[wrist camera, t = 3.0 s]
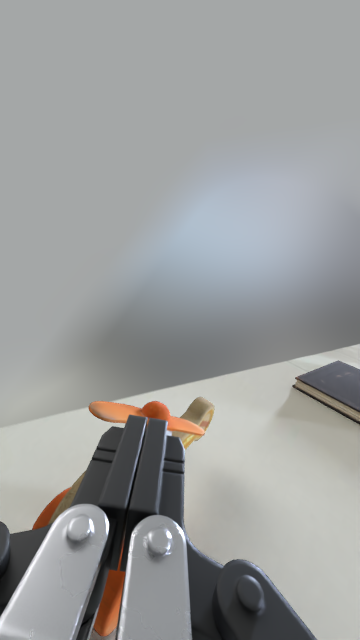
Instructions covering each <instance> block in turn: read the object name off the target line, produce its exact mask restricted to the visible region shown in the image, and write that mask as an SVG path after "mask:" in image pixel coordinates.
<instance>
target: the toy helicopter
mask: <svg viewBox="0 0 360 640" xmlns="http://www.w3.org/2000/svg"><path fill="white" fill-rule="evenodd" d="M89 411H90V412H91V413H92V414H93V415H94V416H95V417H97V418H99V419H101V420H104V421H107V422H113V423H126V422H127V419H128V416H129V414H130V415H136V416H142V417H148V421H147V426H148V422H149V418H155V419H161V420H167V421H168V425H167V433H166V435H169V436H175V437H180V439H181V442H182V444H183V446H184V448H185V450H186V449H187V448H188V447H189V445H190V444H191V443H192V442H193V441H197V440H199V439H200V438H201V437H202V436H203V435H204V434H205V431H206V430H207V428H208V426H209V424H210V422H211V420H212V417H213V414H214V405H213V404H212V403H211V402H209V401H208V400H206V399H204V398H203V397H198V398H196V399H195V400H194V401H193V402H192V404H191V405H190V406H189V408H188V409H187V411H186V412H185V413H184V414H183V415H182V416H181V417H180V418H177V417H173V416H170V412H169V410H168V408H167V407H166V406H165V405H164V404H162V403H160V402H157V401H152V402H149V403H147V404H146V405H145V406H144V407H143V408H142V409H141V408H137V407H134V406H130V405H125V404H119V403H112V402H104V401H95V402H92V403H91V404H90V405H89ZM146 431H147V428H146ZM145 435H146V434H145ZM85 472H86V471H85ZM85 472H84V473H83V474H82V475H81V476H80V477H79V479H78V480H77V481H76V482H75V483H74V484H73V485H72V487H70V488H68V489H66V490H64V491H63V492H61V493H60V494H59V495H57V496H56V497H55V498H54V499H53V500H52V501H51V502H50V503H49V504H48V505H47V506H46V508H45V509H44V510H43V511H42V513H41V514H40V516H39V517H38V519H37V520H36V522H35V524H34V526H33V529H32V530H34V529H38V528H42V527H44V526H47V525H49V524H51V523H53V522H54V521H55V520H56V519H57V518H58V516H59V515H60V514H62V513H63V512H64V511H65V510H67V509H68V508H69V507H70V505H71V503H72V501H73V499H74V497H75V495H76V492H77V490H78V488H79V486H80V484H81V481H82V479H83V477H84V475H85ZM124 538H125V537H124ZM123 545H124V542H123ZM122 552H123V547H122V551H121V556H120V560H119V565H118V569H117V571H115V570H109V573H108V577H107V581H106V585H105V589H104V593H103V597H102V600H101V602H100V605H99V609H98V613H97V616H96V619H95V623H94V626H93V627H94V629H95V630H96V631H97V633H98V634H99V635H100V636H107V635H109V634H110V633H111V632H112V631H113V630H114V629H115V628H116V627H117V623H118V615H119V609H120V602H121V596H122V590H123V583H124V577H125V572H123V571H120V565H121V558H122Z"/></svg>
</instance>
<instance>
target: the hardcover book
mask: <svg viewBox="0 0 360 640" xmlns="http://www.w3.org/2000/svg"><path fill="white" fill-rule="evenodd" d="M295 379H297V382H296V384H295V385H293V387H294V388H296V389H298V390H300V391H301V392H303V393H305V394H307V395H308V396H310V397H312V398H314V399H316V400H317V401H319V402H321V403H323V404H325V405H326V406H328V407H330V408H332V409H333V410H335V411H337V412H339V413H341V414H342V415H344V416H346V417H348V418H350V419H351V420H353V421H355V422H357V423H358V424H360V369H357V368H355V367H353V366H350V365H348V364H346V363H343V362H341V361H336V362H333V363H331V364H328V365H326V366H323V367H321V368H318V369H316V370H313V371H311V372H308V373H306V374H303V375H300V376H298V377H295Z"/></svg>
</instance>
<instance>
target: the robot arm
mask: <svg viewBox="0 0 360 640" xmlns="http://www.w3.org/2000/svg"><path fill="white" fill-rule="evenodd" d="M147 421H148V417H142V416H136V415H130V414H129V416H128V419H127V422H126V425H125V427H124V428H119V427H113V426H112V427H111V428H110V429H109V430H108V431H107V432H105V433H104V434H103V435H102V437H101V439H100V441H99V444H98V446H97V449H96V450H95V452H94V455H93V457H92V460H91V461H90V464H89V466H88V468H87V470H86V472H85V475H84V477H83V479H82V481H81V484H80V486H79V488H78V490H77V492H76V495H75V497H74V499H73V501H72V503H71V505H70V507H69V508H68V509H67V510H65V511H64V512H63V513H62V514H60V515H59V516H58V518H57V519H56V520H55V521H54V522H53V523H51V524H49V525H47V526H44V527H42V528H38V529H34V530H29V531H24V532H19V533H13V534H10V533H9V530H8V528H7V526H6V525H5V524H4V523H2V522H0V640H89V639H90V636H91V633H92V629H93V626H94V623H95V619H96V616H97V613H98V609H99V605H100V602H101V600H102V597H103V593H104V589H105V585H106V581H107V577H108V573H109V570H115V571H117V569H118V565H119V560H120V556H121V551H122V547H123V552H122V558H121V565H120V571H123V572H125V577H124V583H123V590H122V596H121V602H120V609H119V615H118V623H117V630H116V638H115V640H317V639H316V638H315V636H314V635H313V634H312V633H311V631H310V630H309V629H308V627H307V626H306V625H305V624H304V622H303V621H302V620H301V619H300V617H299V616H298V615H297V613H296V612H295V611H294V610H293V608H292V607H291V606H290V605H289V603H288V602H287V601H286V599H285V598H284V597H283V596H282V594H281V593H280V592H279V590H278V589H277V588H276V587H275V585H274V584H273V583H272V582H271V580H270V579H269V578H268V576H267V575H266V574H265V573H264V572H263V571H262V570H261V569H260V568H259V567H257V566H256V565H254V564H253V563H251V562H249V561H246V560H240V559H237V560H232V561H230V562H228V563H227V564H225V566H223V565H221V564H219V563H218V562H216V561H214V560H212V559H211V558H209V557H207V556H205V555H204V554H202V553H201V552H200V551H199V550H198V549H196V547H195V546H194V545H193V544H192V543H191V541H190V540H189V538H188V536H187V534H186V531H185V527H184V519H183V517H184V465H185V464H184V462H185V448H184V446H183V444H182V442H181V439H180V437H175V436H169V435H166V433H167V425H168V421H167V420H161V419H155V418H149V422H148V426H147ZM146 428H147V431H146ZM145 434H146V435H145ZM124 537H125V538H124ZM123 542H124V545H123Z"/></svg>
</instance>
